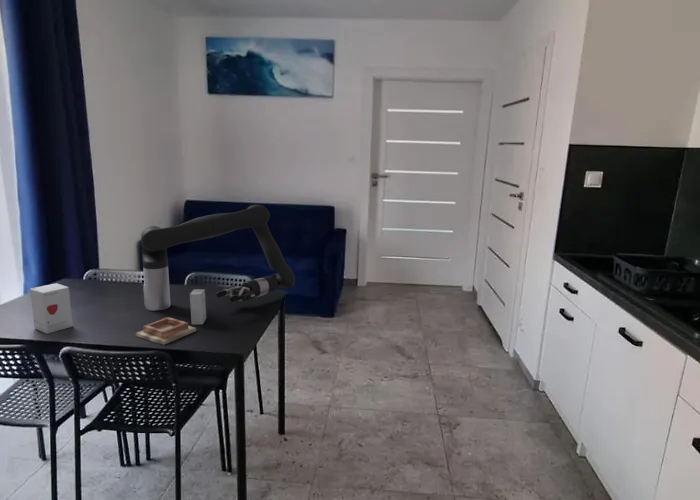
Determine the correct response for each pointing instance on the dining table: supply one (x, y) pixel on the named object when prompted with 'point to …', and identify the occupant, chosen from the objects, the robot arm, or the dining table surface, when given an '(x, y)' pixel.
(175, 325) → the serum stand
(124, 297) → the dining table surface
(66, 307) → the supplement box
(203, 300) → the skincare box
